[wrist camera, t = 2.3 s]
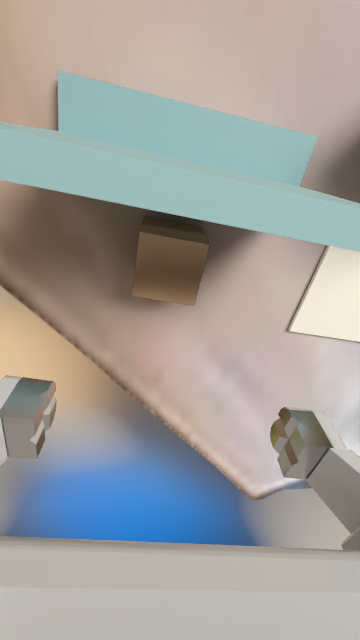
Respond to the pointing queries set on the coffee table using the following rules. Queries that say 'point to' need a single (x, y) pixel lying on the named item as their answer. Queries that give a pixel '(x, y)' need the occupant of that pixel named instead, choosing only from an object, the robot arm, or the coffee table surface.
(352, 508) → the robot arm
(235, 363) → the coffee table surface
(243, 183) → the screen
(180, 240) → the brown block
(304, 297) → the pad
